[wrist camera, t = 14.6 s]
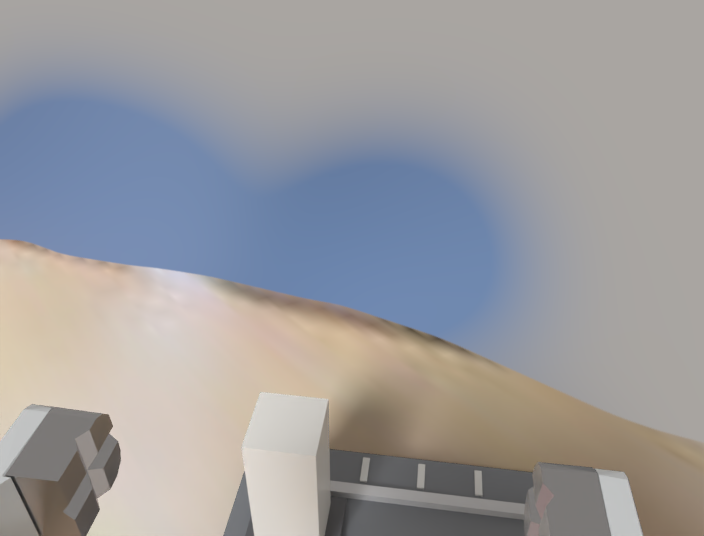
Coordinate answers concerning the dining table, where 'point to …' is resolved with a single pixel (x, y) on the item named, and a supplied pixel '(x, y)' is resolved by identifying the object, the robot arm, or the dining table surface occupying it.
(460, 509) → the console
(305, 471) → the fader knob
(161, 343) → the dining table surface
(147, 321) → the dining table surface
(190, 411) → the dining table surface
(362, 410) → the dining table surface
